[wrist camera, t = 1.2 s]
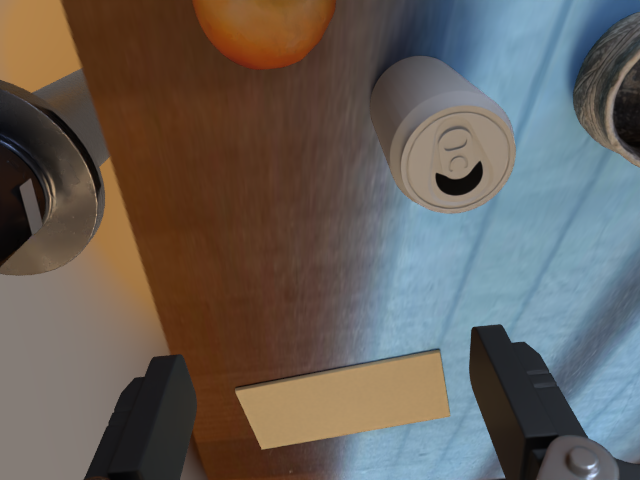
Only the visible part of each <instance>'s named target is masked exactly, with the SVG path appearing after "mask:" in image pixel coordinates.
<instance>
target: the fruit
mask: <svg viewBox="0 0 640 480" xmlns="http://www.w3.org/2000/svg"><path fill="white" fill-rule="evenodd" d="M192 1H193V6H194V9H195V12H196V15H197V18H198V21H199V23H200V25H201V27H202V29H203V31H204V33H205V34H206V36H207V38H208V39H209V41H210V42H211V43H212V44H213V45H214V46H215V47H216V48H217V49H218V50H219V51H220V52H221V53H222V54H223V55H224V56H225V57H227V58H228V59H230V60H231V61H233V62H235V63H237V64H239V65H241V66H244V67H247V68H250V69H255V70H263V69H273V68H282V67H285V66H288V65H291V64H293V63H296V62H298V61H300V60H302V59H303V58H304V57H305V56H306V55H307V54H308V53H309V52H310V51H311V50H312V48H313V47H314V46H315V45H317V44H318V43H319V41H320V40H321V38H322V36H323V34H324V32H325V30H326V28H327V26H328V24H329V22H330V20H331V19H332V17H333V14H334V11H335V5H336V0H192Z"/></svg>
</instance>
